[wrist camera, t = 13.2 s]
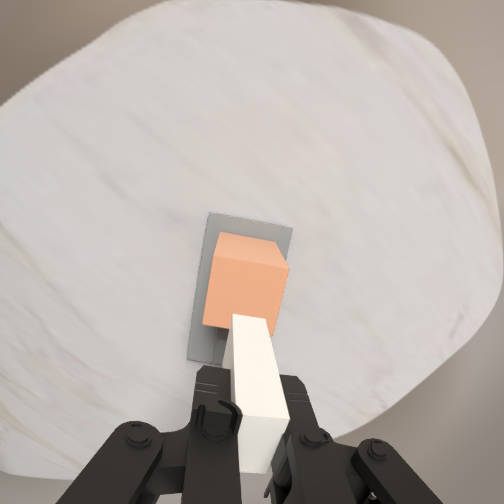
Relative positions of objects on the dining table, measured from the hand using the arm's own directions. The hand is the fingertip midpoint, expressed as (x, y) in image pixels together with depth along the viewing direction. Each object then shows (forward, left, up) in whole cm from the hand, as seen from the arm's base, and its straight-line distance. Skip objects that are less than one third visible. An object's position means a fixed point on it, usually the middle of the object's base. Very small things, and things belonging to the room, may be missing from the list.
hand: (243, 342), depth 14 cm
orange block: (0, -1, -17) cm, 17 cm away
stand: (+1, -5, -18) cm, 18 cm away
